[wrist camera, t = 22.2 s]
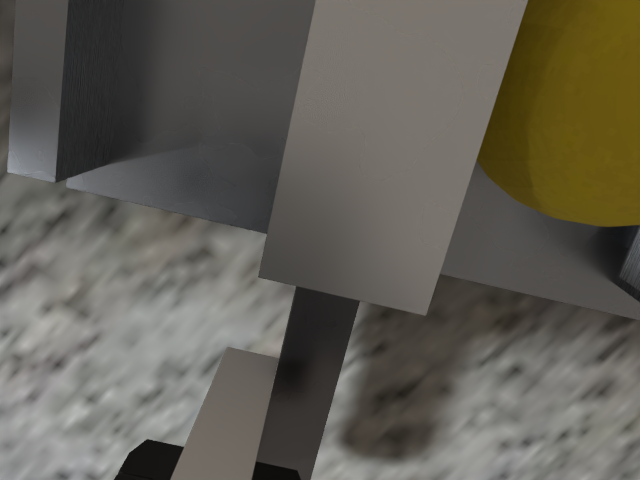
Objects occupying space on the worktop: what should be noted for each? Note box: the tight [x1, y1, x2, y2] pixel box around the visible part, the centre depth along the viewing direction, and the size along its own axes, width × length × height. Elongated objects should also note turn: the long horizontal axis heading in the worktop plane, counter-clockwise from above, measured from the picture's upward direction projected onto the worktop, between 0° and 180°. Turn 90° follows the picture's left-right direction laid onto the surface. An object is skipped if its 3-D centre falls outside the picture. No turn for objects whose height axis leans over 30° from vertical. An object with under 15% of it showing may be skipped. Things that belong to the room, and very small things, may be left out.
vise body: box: [8, 0, 640, 320], centre depth 11 cm, size 21×12×9 cm, turn 77°
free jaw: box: [256, 0, 528, 480], centre depth 13 cm, size 3×20×7 cm, turn 167°
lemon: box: [477, 0, 640, 227], centre depth 11 cm, size 6×6×8 cm
